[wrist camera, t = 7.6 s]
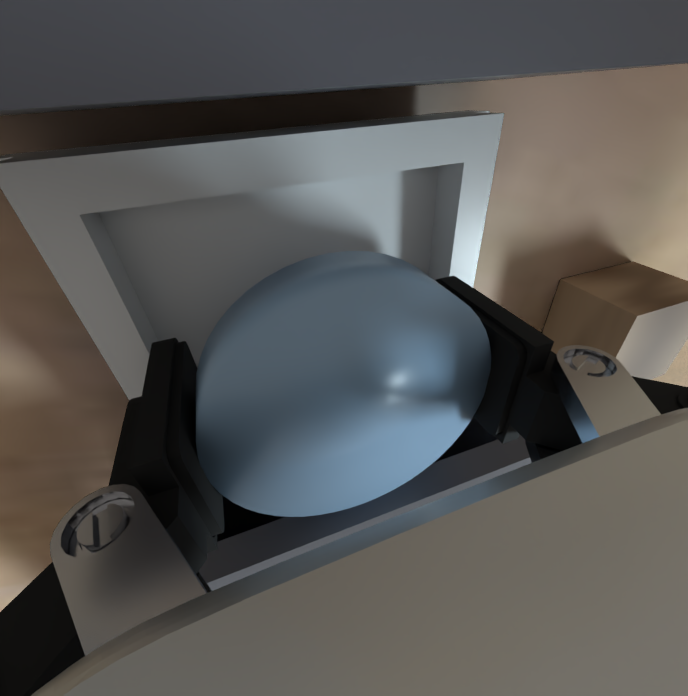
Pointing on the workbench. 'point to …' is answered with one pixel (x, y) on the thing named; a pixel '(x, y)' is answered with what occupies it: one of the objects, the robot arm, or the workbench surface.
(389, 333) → the pale blue dome cap
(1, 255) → the workbench surface
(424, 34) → the grey drawer
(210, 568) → the box
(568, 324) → the brown block
